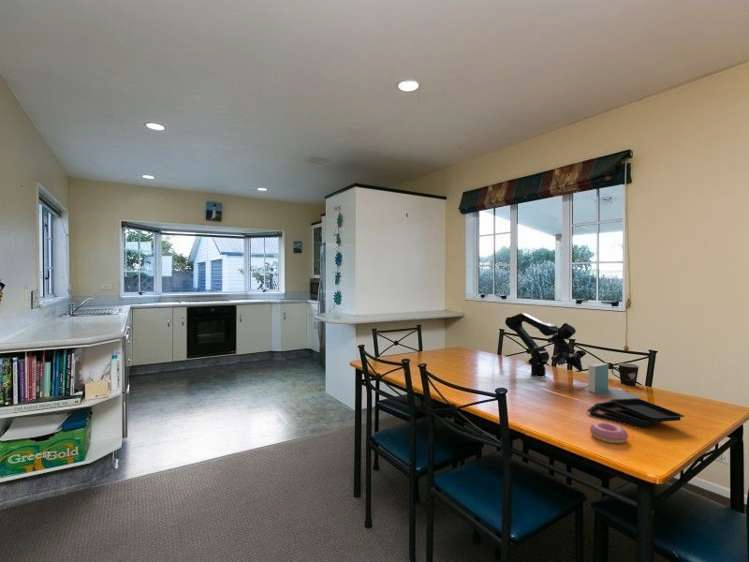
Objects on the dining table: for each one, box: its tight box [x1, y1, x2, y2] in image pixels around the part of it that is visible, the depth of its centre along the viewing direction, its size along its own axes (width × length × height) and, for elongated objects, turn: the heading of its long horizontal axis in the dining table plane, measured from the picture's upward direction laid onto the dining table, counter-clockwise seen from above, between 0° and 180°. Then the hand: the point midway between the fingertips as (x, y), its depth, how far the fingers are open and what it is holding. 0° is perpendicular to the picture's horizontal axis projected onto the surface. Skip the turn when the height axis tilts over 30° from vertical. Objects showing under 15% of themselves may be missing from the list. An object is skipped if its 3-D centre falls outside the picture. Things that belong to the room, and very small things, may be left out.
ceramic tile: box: [587, 362, 610, 392], centre depth 179 cm, size 3×11×12 cm, turn 119°
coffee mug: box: [611, 362, 640, 387], centre depth 192 cm, size 12×9×10 cm
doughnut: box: [589, 421, 629, 444], centre depth 127 cm, size 11×11×4 cm
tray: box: [586, 398, 685, 429], centre depth 145 cm, size 30×23×5 cm
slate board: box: [582, 387, 643, 400], centre depth 173 cm, size 18×16×1 cm
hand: (581, 370), depth 186 cm, fingers closed
